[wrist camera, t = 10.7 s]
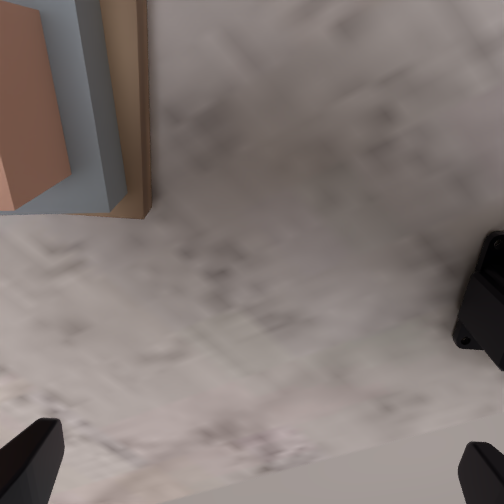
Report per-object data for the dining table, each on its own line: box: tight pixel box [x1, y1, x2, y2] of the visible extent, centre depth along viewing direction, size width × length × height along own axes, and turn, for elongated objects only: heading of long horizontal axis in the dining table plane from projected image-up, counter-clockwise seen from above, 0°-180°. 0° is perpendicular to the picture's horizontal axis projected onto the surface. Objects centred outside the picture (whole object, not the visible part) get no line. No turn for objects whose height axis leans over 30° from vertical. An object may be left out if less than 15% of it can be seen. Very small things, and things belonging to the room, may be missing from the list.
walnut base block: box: [71, 0, 152, 219], centre depth 17 cm, size 10×10×2 cm
